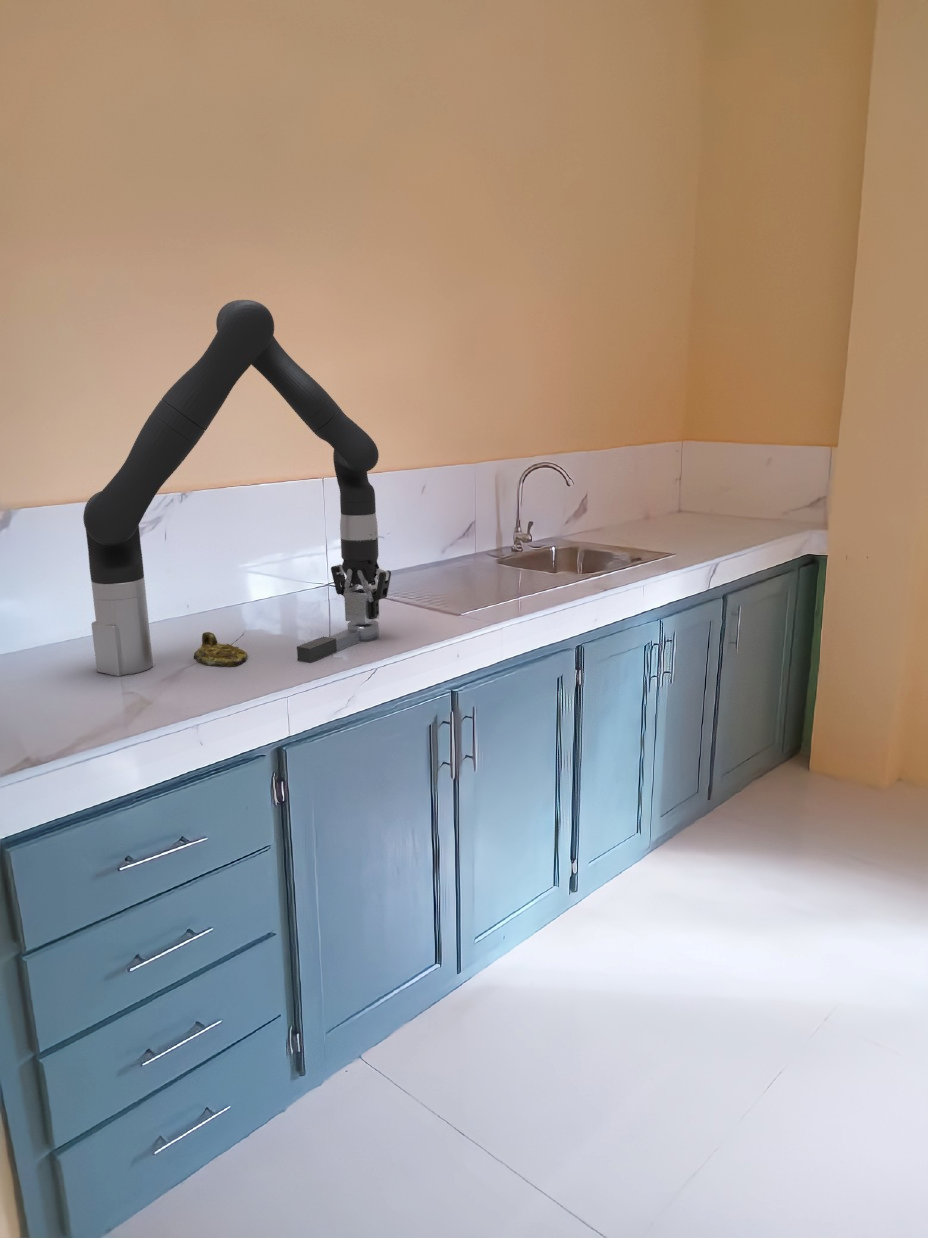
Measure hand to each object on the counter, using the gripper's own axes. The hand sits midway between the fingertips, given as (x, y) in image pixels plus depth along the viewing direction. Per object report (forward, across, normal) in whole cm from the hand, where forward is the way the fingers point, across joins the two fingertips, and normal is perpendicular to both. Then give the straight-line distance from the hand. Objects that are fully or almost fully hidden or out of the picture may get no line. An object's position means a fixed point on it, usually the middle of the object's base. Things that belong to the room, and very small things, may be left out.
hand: (362, 616), depth 195 cm
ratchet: (+4, 0, -8) cm, 9 cm away
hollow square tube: (+1, 0, 0) cm, 1 cm away
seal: (+5, -16, -24) cm, 30 cm away
